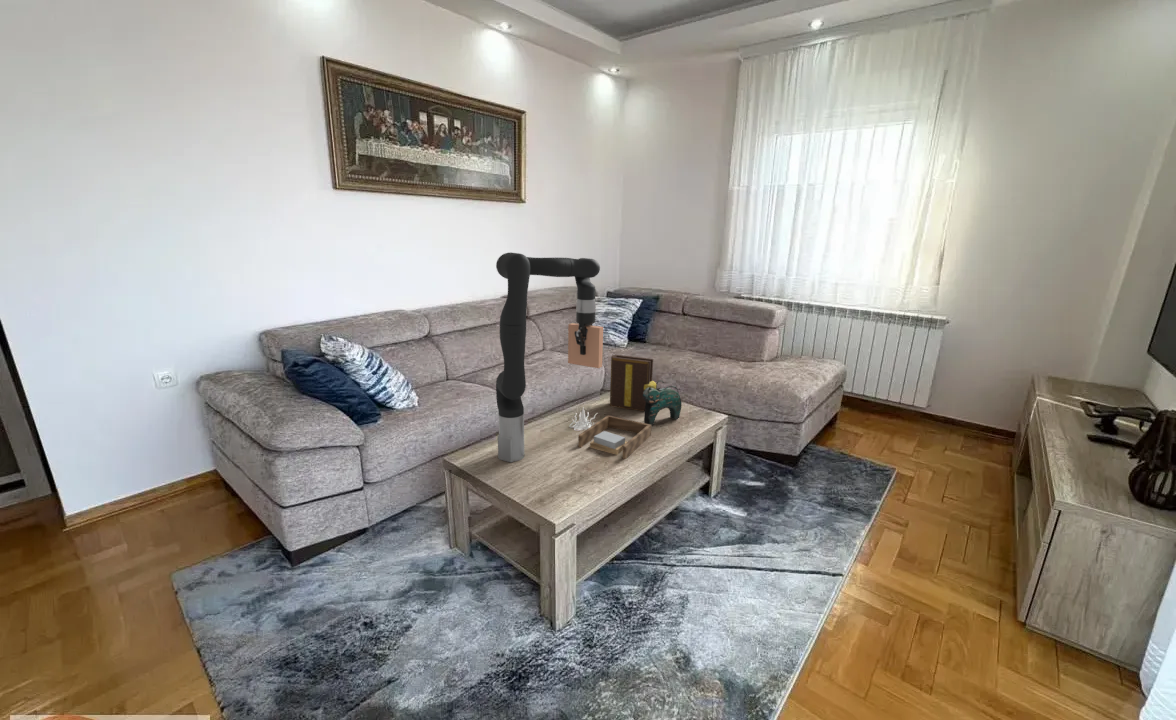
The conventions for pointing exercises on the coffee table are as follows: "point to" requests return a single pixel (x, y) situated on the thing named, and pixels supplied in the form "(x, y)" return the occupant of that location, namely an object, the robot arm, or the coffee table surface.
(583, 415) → the white tentacle figurine
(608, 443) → the offcut top
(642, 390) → the book
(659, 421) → the coffee table surface
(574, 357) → the salmon orange rectangular slab
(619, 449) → the offcut bottom
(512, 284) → the robot arm
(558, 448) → the coffee table surface
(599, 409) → the coffee table surface
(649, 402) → the ceramic cat
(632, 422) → the wooden tray
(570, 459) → the coffee table surface
